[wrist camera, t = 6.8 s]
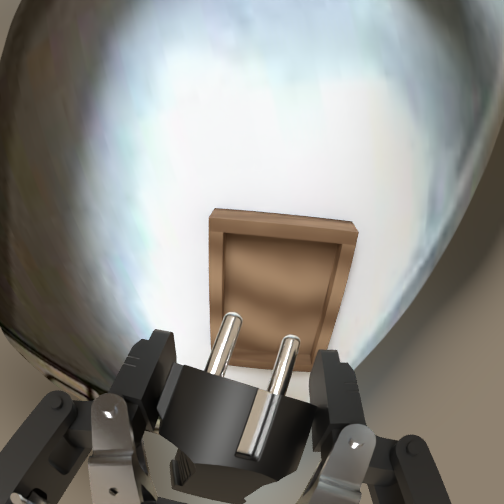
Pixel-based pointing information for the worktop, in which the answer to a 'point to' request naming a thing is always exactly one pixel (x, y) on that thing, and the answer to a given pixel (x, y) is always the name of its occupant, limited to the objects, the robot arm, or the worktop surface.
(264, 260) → the brown tray
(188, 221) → the worktop surface
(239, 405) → the power plug
